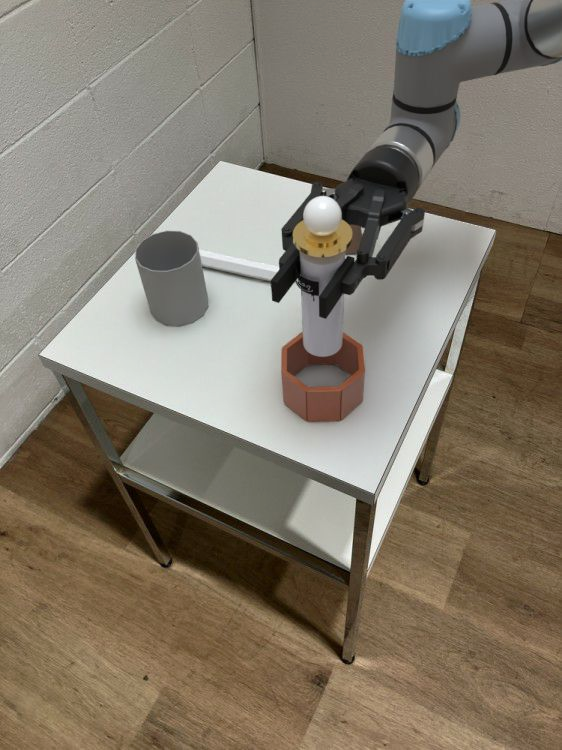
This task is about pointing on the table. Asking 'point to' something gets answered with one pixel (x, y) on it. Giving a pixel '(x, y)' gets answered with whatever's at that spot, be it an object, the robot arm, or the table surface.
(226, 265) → the marker
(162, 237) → the cup
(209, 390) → the table surface
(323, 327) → the perfume bottle
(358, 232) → the coaster
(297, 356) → the holder
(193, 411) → the table surface
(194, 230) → the table surface
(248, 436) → the table surface
